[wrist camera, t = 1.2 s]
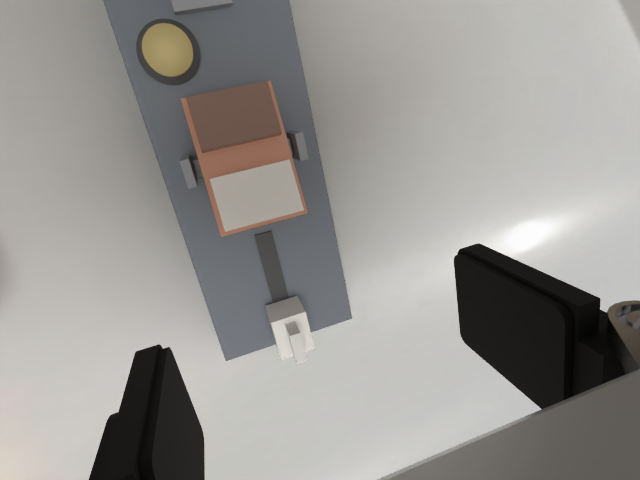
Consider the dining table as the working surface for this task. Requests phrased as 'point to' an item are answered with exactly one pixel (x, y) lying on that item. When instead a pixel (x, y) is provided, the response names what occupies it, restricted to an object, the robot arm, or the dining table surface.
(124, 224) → the dining table surface
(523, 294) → the robot arm
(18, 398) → the dining table surface
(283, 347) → the slider
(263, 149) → the rocker
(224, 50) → the console
